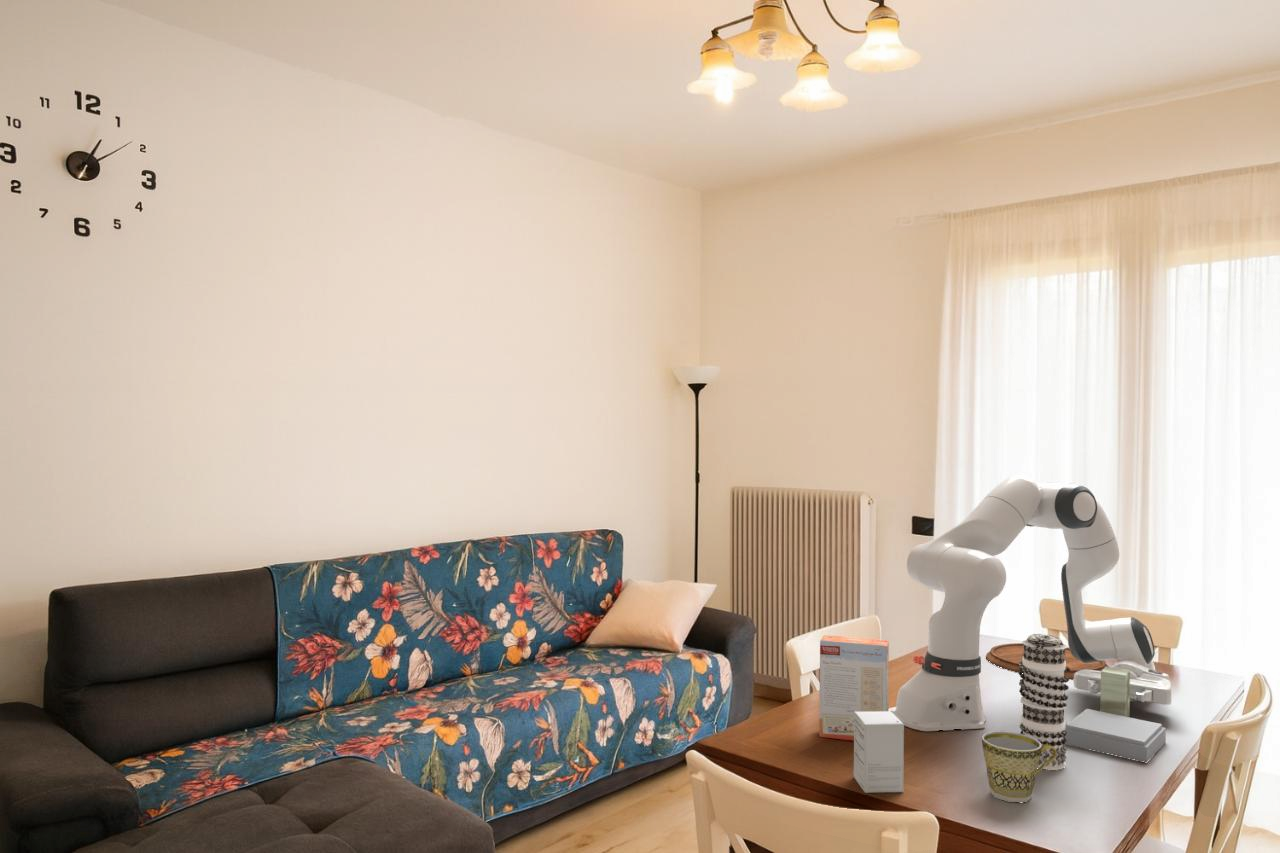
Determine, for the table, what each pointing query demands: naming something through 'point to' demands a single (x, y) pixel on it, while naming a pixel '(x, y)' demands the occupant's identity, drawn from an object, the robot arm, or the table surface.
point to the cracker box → (851, 682)
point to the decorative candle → (1044, 695)
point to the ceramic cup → (1012, 764)
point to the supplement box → (878, 751)
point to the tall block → (1115, 691)
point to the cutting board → (1013, 654)
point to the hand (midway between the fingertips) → (1116, 693)
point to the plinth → (1115, 734)
